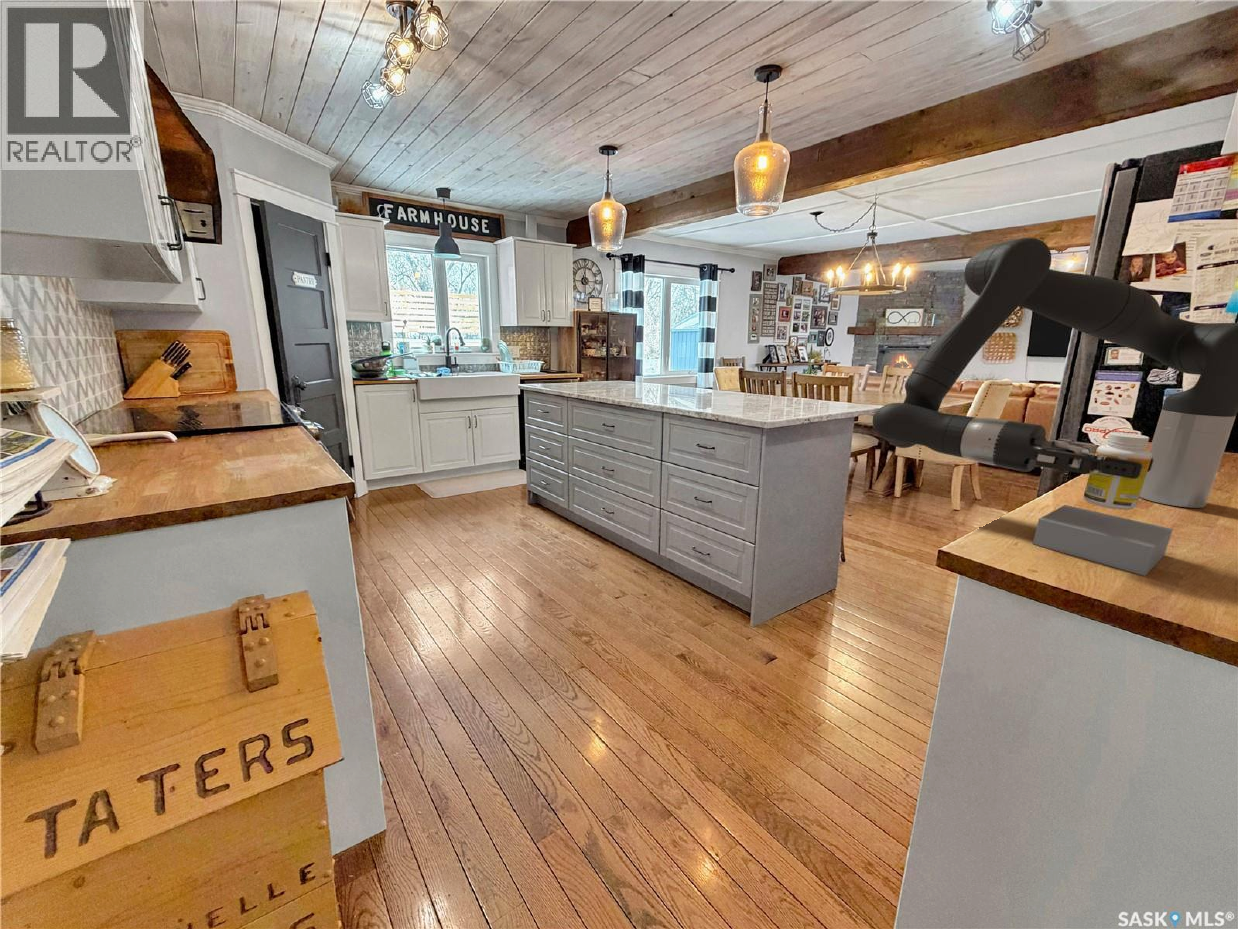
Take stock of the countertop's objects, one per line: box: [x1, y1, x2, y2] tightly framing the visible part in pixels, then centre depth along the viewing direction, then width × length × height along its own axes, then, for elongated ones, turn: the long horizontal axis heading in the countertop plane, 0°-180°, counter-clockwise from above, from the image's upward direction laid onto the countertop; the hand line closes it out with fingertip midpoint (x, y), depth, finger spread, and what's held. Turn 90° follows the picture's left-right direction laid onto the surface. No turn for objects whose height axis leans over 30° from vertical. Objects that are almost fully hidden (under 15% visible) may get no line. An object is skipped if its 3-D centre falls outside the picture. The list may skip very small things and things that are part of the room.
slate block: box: [1032, 504, 1174, 577], centre depth 73 cm, size 12×12×4 cm
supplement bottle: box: [1083, 431, 1152, 511], centre depth 70 cm, size 6×6×10 cm
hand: (1145, 468), depth 68 cm, fingers closed on supplement bottle, 5 cm apart
